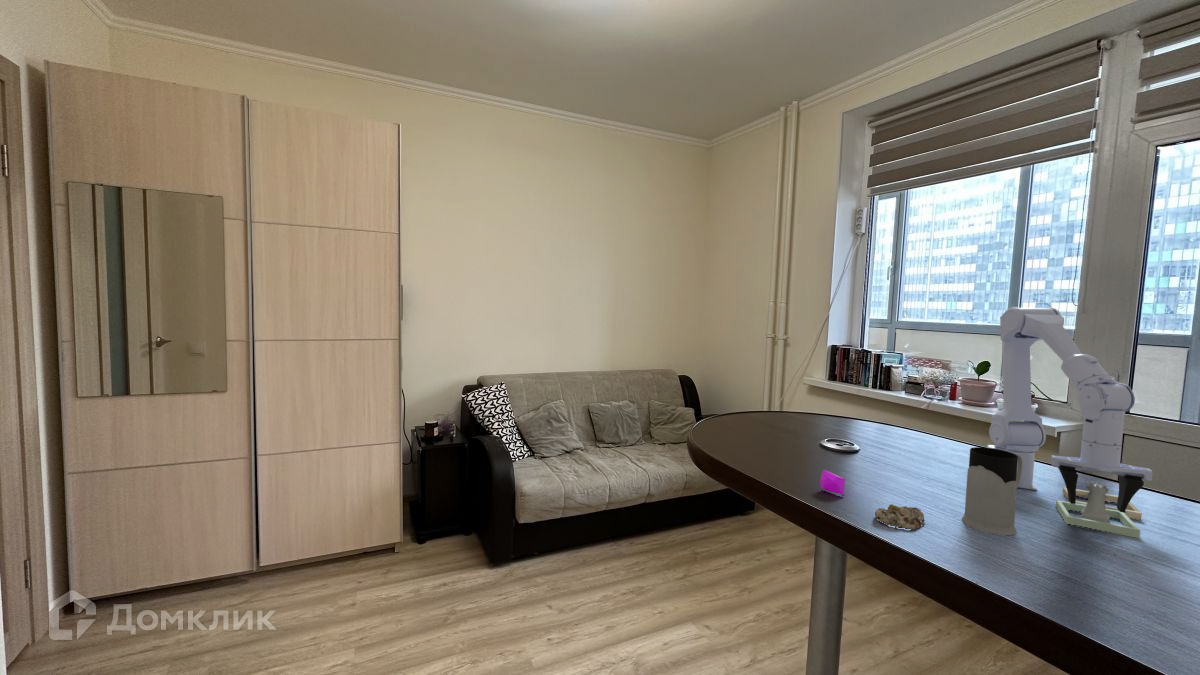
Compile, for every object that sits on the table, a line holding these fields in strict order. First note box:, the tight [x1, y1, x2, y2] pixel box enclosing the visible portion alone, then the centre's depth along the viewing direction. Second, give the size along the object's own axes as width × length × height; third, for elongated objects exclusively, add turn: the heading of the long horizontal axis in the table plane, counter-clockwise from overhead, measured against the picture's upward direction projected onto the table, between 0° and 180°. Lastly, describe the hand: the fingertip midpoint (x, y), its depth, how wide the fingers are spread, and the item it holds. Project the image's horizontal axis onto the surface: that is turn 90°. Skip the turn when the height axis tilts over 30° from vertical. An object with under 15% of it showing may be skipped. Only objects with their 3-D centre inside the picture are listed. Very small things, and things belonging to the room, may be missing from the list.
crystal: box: [820, 469, 846, 494], centre depth 116 cm, size 5×5×5 cm
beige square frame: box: [1062, 486, 1143, 521], centre depth 110 cm, size 10×10×2 cm
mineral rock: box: [874, 503, 926, 530], centre depth 101 cm, size 11×4×8 cm
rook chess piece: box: [1079, 481, 1111, 524], centre depth 102 cm, size 4×4×8 cm
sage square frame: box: [1055, 499, 1141, 539], centre depth 102 cm, size 10×10×2 cm
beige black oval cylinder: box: [961, 446, 1022, 536], centre depth 100 cm, size 9×14×15 cm, turn 113°
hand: (1095, 506), depth 102 cm, fingers open, 7 cm apart
